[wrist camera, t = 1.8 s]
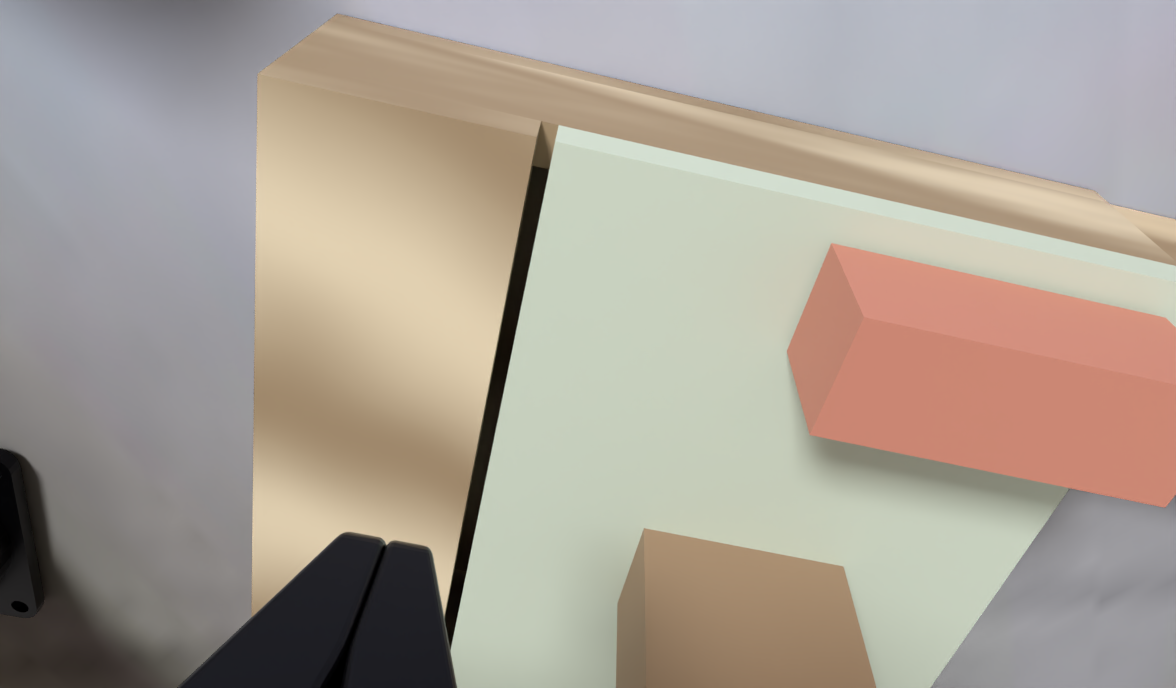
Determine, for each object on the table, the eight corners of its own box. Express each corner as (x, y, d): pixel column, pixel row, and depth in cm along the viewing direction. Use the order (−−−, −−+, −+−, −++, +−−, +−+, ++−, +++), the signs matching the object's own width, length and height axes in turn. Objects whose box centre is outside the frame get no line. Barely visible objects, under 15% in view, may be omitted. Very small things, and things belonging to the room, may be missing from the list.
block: (1097, 417, 16) (1165, 507, 14) (786, 351, 16) (809, 434, 14) (1166, 317, 15) (1249, 400, 13) (831, 243, 14) (863, 317, 12)
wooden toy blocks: (1080, 687, 27) (1149, 826, 23) (306, 544, 25) (250, 672, 21) (1435, 270, 19) (1624, 383, 15) (337, 13, 17) (257, 73, 13)
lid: (855, 729, 24) (910, 960, 19) (449, 657, 23) (401, 881, 18) (1166, 252, 16) (1391, 447, 11) (561, 113, 15) (528, 261, 10)
